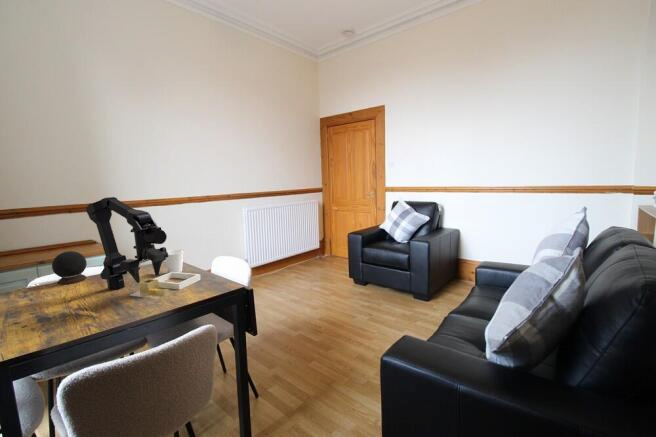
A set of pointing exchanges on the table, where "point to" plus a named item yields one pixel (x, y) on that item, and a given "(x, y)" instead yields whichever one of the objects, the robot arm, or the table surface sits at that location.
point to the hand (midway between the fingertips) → (147, 279)
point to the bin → (171, 285)
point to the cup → (174, 260)
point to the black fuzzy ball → (69, 267)
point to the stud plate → (150, 295)
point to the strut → (151, 288)
